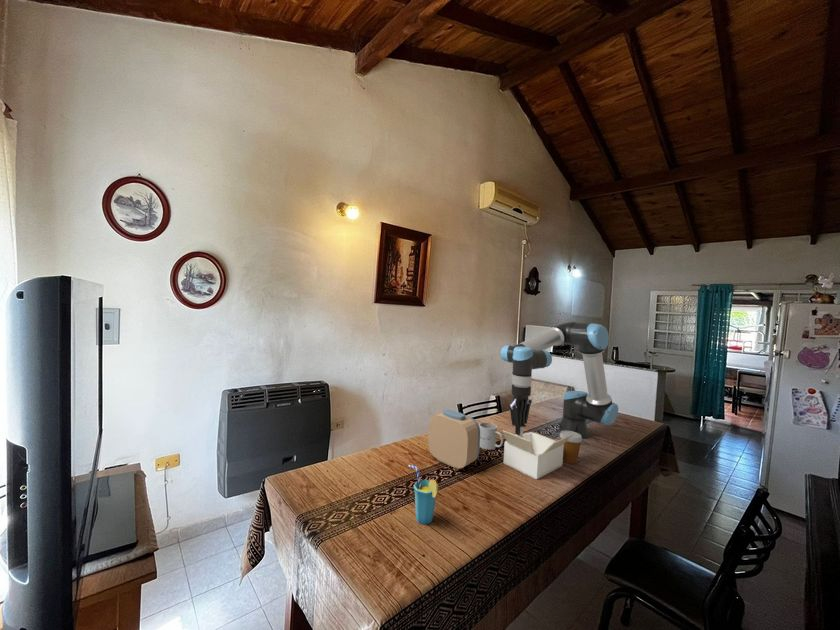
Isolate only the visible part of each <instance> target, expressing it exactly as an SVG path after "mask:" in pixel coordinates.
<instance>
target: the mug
mask: <svg viewBox="0 0 840 630" xmlns="http://www.w3.org/2000/svg"><path fill="white" fill-rule="evenodd" d="M478 425H479V427H480V447H481V448H480V449H483V450H487V449H488V450H489V451H491V449H492V450H495V449H496V448H501V447H502V445H504V435H503V434H502V433H501V431H498V425H497V424H495V423H493V422H486V421H484V422H480V423H478ZM497 435H499V437H500V444H497Z"/></svg>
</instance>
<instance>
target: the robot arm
mask: <svg viewBox="0 0 840 630" xmlns="http://www.w3.org/2000/svg"><path fill="white" fill-rule="evenodd" d="M609 340H610V336H609V332H608V329H607V328H606V327H605V326H604V325H602V324H598V323H594V322H593V323H588V322H577V321H569V322H564V323H561V324H558V325H555V326H552V327H550V328H549V329H548V330H547V331H545V332H544V333H541V334H538V335H536V336H534V337H531V338H529V339H527V340H525V341H522V342H520V343H517V344H515V345H510V344H509V345H508V344H506V345H504V346H502V348H501V350H500V358H501V359H502V360H503V361H504V362H508V363H510V364H512V373H511V375H512V376H511V391H510V393H511V394H512V395H513V398H512V403H509V404H508V407H509V411H510V419H511V425H512V426H513V427H515V430H514V431H515V434H514V435H517V436H519V437H522V438H523V433H524V428H525V427H526V426H527V424H528V421H529V420H528V419H529V415H530V407H531V405H532V403H533V402H532V400H531V399H529V397H530V396H531V395H532V394H531V393H532V387H531V386H532V376H533V375H532V372H533V370H537V369H545V368H548V367H550V365H552V363H553V357H552V354H551V353H550V352H549V351H548V349H550V348H552V347H555V346H556V347H557V346H558V347H559V346H562V345H570V346H576V347H577V350H578V351H577V352H578V353H579V354H581V355H582V360H583V366H584V374H585V381H586V385H587V392H586V391H584V390H582V391H581V390H568V391H565V392H564V393H563V394H564V395H563V404H562V405H563V407H562V418H561V421H560V423H559V425H558V433H559V434H560V433H561V431H573V432H576V433H579V434H580V435H581V436H582V440H583V439H587V438H589V435H590V434H589V433H590V432H589V428H588V424H587V420H589V421H592V422H595V423H598V424H600V425H604V426H610V425H612V424H614V423H615V421H616V420H617V416H618V415H619V405H618V404H617V403H615V402H613V400H612V399H613V398H612V396H611V395H610V394H609V393H608V386H607V380H606V373H605V366H604V357H603V353H604V352H605V349H607V347H608V346H609Z"/></svg>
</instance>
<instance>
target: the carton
mask: <svg viewBox="0 0 840 630" xmlns="http://www.w3.org/2000/svg"><path fill="white" fill-rule="evenodd" d="M523 438H524V439H527V440H529V441H531V444H532V447H533V450H534V453H531V452H529V451H527V450H524V449H522V448H520V447H517V446H515V445H513V444H510V443H508V442H506V440H505V441H504V444H503V445H504V447H503V464H504V465H506V466H507V467H510V468H512V469H514V470H516V471H519V472H520V473H522V474H524V475H526V476H528V477H530V478H532V479H534V480H536V481H537V480H539V479H540V478H543V477H545V476H547V475H548V474H551V472H554V471H556V470H558V469H560V468H561V467H563V462H564V461H563V448H564V444H563V445H562V446H559V447H557V448H555V449H553V450H551V451H548V452H546V453H544V454H543V452H544V451H545V450H546V449H547V448H548V447H549V446H550V445H551V444H552V443H553V442H556V441H557V440H555V439H553V438H551V437H547V436H544V435H542V434H540V433H538V432H533V431H530V432H527V431H526V432H523Z"/></svg>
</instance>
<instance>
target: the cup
mask: <svg viewBox="0 0 840 630" xmlns="http://www.w3.org/2000/svg"><path fill="white" fill-rule="evenodd" d="M407 467H408V468H409V469H413V470H415V473H416V477H417V481H416V482H415V483H414V485H413V490H414V501H415V503H414V504H415V507H414V508H415V520H416V521H417V523H419V524H422V525H429V524H431V523H432V521H433V519H434V514H435V508H436V507H435V505H436V500H437V498H438V495H439V485H438V483H437V482H436V480H435V479H422V480H421V475H420V471H419V468H418V467H417V466H416V465H411V464H408V466H407Z"/></svg>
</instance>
